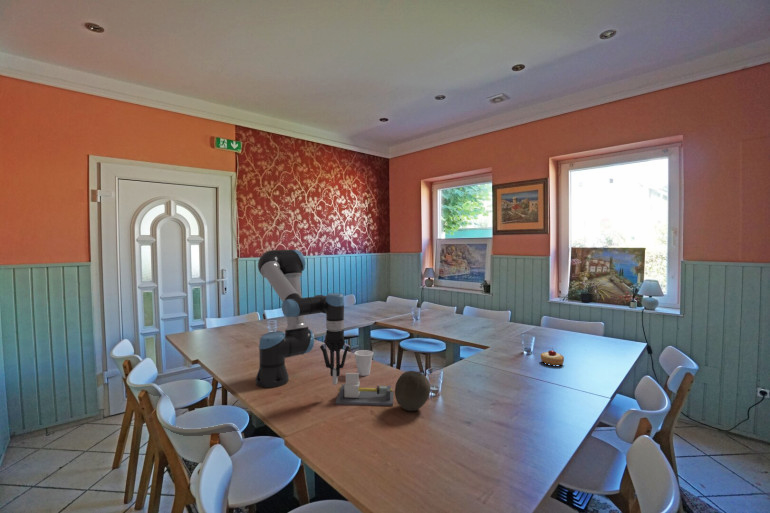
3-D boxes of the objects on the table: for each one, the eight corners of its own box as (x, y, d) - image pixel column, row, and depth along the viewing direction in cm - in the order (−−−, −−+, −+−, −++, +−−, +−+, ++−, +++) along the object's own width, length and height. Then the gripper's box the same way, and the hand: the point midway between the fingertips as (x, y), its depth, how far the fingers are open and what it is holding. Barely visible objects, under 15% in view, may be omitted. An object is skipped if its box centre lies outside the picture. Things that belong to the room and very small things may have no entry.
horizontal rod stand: (335, 404, 149) (335, 390, 149) (340, 392, 161) (340, 379, 161) (392, 405, 148) (392, 392, 148) (393, 393, 160) (393, 381, 160)
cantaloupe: (420, 420, 136) (420, 381, 135) (388, 411, 143) (388, 374, 143) (435, 406, 148) (435, 370, 147) (405, 398, 155) (405, 364, 155)
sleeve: (344, 397, 152) (344, 375, 152) (346, 392, 157) (346, 371, 157) (358, 397, 152) (358, 375, 152) (359, 392, 157) (359, 371, 157)
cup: (370, 378, 178) (370, 356, 177) (351, 376, 180) (351, 355, 179) (375, 371, 188) (375, 350, 187) (357, 369, 190) (357, 349, 189)
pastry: (540, 366, 198) (540, 350, 198) (540, 359, 209) (540, 344, 209) (565, 368, 194) (564, 352, 193) (563, 361, 204) (563, 346, 204)
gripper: (318, 331, 151) (318, 386, 152) (348, 331, 150) (348, 387, 151) (322, 327, 158) (322, 379, 159) (351, 327, 157) (351, 380, 158)
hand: (335, 383), depth 155 cm, fingers closed
